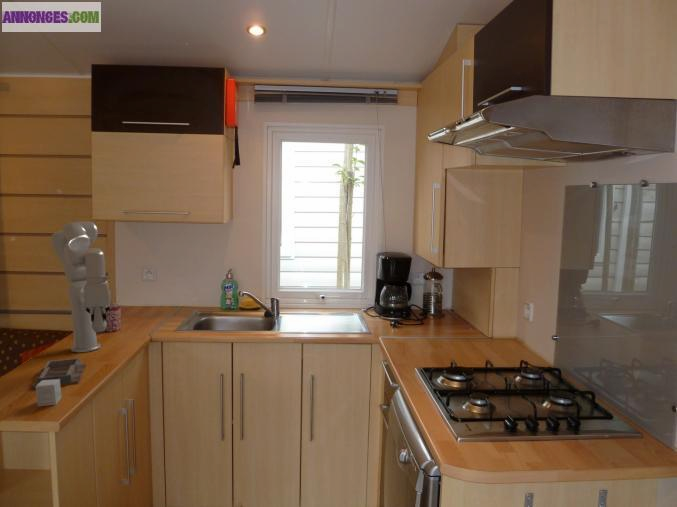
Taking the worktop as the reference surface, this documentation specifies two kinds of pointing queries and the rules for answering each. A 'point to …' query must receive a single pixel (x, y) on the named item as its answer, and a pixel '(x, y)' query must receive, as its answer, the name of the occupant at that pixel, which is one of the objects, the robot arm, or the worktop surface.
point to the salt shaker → (98, 320)
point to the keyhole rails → (57, 363)
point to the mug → (113, 318)
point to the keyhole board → (62, 371)
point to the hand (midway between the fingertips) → (98, 322)
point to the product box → (48, 392)
